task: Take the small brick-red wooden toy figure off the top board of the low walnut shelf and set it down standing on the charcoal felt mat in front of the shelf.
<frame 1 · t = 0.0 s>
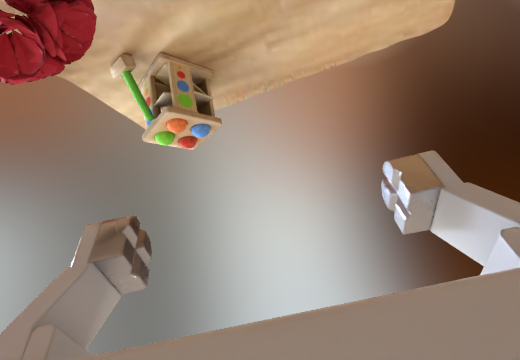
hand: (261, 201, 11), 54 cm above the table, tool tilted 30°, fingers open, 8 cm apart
pounding bench toy: (159, 73, 84), on the table
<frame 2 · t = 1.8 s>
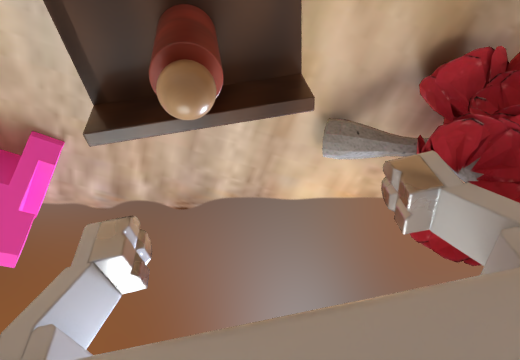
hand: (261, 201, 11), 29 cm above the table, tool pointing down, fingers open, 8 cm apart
bouquet: (419, 106, 46), on the table
toy: (186, 35, 25), point 11 cm above the table, touching shelf
bracket: (6, 160, 42), on the table
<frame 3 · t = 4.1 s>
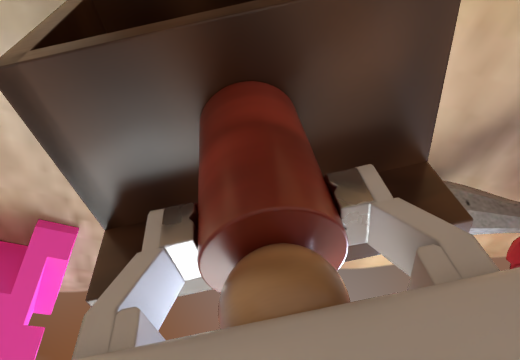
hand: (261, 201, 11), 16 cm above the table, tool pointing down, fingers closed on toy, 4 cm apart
toy: (248, 126, 15), point 11 cm above the table, touching gripper, shelf
shelf: (233, 46, 23), on the table
bracket: (11, 251, 34), on the table
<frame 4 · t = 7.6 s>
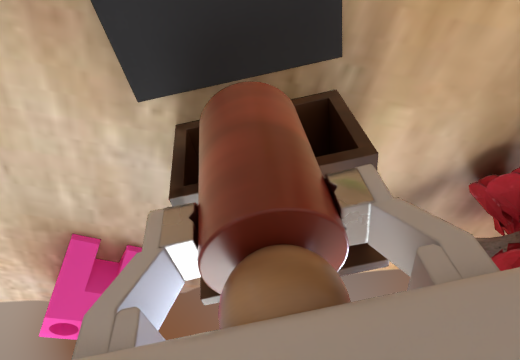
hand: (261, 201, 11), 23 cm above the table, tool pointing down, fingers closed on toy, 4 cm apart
bouquet: (467, 196, 49), on the table
toy: (249, 126, 15), point 19 cm above the table, touching gripper
shelf: (263, 145, 38), on the table
bracket: (104, 266, 49), on the table
felt mat: (223, 6, 28), on the table
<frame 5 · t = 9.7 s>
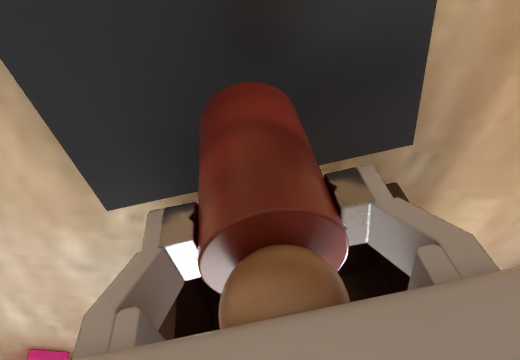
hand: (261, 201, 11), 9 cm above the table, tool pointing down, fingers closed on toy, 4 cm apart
toy: (249, 126, 15), point 4 cm above the table, touching gripper
shelf: (288, 248, 28), on the table
felt mat: (237, 81, 18), on the table
when the fingers open (5 cm above the table, at t = 11.3 s): toy stays where it is, resting on felt mat.
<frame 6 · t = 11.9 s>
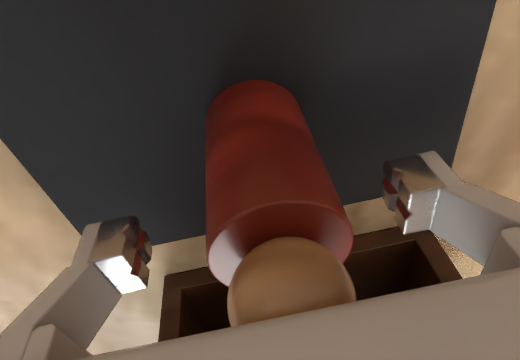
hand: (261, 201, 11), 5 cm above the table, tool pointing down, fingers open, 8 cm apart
toy: (253, 124, 15), resting on felt mat
shelf: (300, 289, 25), on the table
felt mat: (248, 118, 15), on the table
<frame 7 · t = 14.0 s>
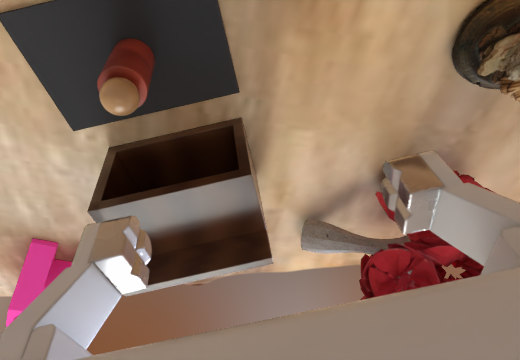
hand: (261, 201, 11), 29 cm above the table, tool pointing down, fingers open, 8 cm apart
bouquet: (382, 202, 56), on the table
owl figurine: (513, 38, 40), on the table
toy: (134, 58, 35), resting on felt mat
shelf: (187, 163, 45), on the table
bracket: (64, 265, 56), on the table
felt mat: (132, 56, 36), on the table
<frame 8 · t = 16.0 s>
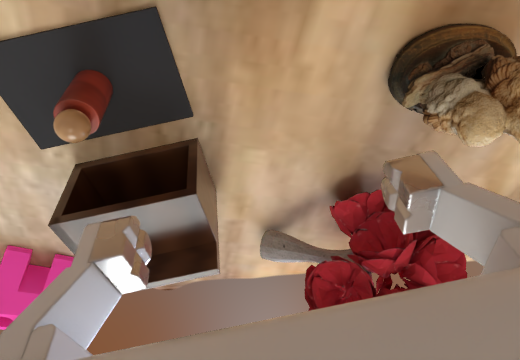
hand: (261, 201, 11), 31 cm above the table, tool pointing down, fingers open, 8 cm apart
bouquet: (338, 214, 60), on the table
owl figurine: (444, 70, 44), on the table
toy: (93, 87, 39), resting on felt mat
shelf: (150, 178, 49), on the table
bracket: (39, 270, 60), on the table
felt mat: (92, 85, 39), on the table
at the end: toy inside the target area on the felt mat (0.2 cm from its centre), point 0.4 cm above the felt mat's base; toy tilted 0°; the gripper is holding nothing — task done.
